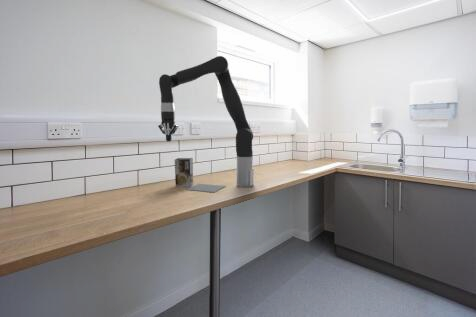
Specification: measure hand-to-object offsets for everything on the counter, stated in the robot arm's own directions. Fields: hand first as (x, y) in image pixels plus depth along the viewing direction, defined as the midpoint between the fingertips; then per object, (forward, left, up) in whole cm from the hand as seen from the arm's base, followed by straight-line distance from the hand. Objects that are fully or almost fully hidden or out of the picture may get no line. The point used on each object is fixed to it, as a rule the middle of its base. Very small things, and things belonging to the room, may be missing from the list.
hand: (168, 141), depth 153 cm
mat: (-24, 0, -26) cm, 35 cm away
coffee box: (-10, 0, -26) cm, 28 cm away
